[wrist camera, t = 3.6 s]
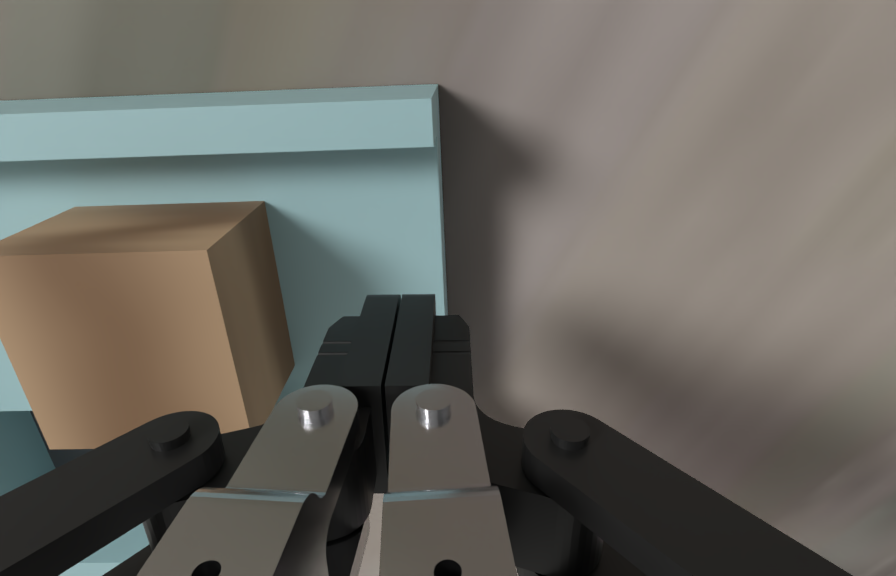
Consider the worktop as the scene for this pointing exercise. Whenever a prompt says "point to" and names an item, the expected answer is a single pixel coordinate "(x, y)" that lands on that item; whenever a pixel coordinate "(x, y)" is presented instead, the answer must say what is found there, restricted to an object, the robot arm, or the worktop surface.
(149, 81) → the worktop surface
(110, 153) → the box
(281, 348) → the walnut block
